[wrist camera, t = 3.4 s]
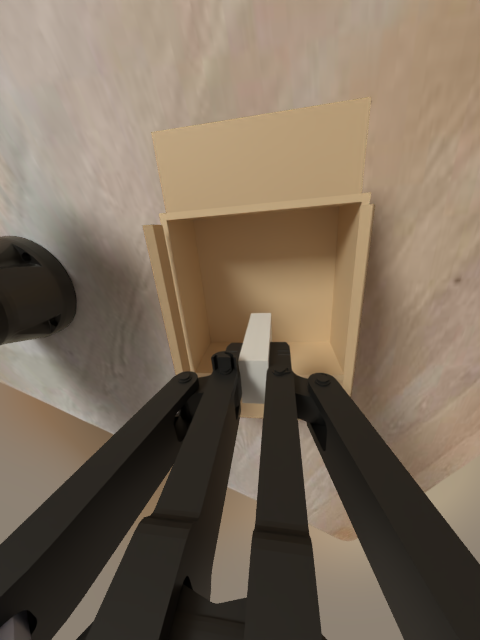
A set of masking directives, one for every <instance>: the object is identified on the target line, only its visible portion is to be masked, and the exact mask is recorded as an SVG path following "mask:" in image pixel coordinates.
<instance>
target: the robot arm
mask: <svg viewBox="0 0 480 640" xmlns="http://www.w3.org/2000/svg"><path fill="white" fill-rule="evenodd" d="M75 311H76V296H75V291H74V288H73V285H72V283H71V280H70V278H69V276H68V274H67V273H66V271H65V270H64V268H63V267H62V266H61V264H60V263H59V262H58V261H57V260H56V258H55V257H54V256H53V255H51V254H50V253H49V252H48V251H47V250H46V249H44V248H43V247H41V246H40V245H38V244H36V243H35V242H33V241H30V240H28V239H25V238H22V237H17V236H3V237H0V345H2V344H7V343H13V342H19V341H25V340H31V339H37V338H43V337H47V336H50V335H52V334H54V333H56V332H58V331H60V330H62V329H64V328H65V327H67V326H68V325H69V324H70V323H71V321H72V319H73V317H74V315H75ZM211 361H212V368H213V372H212V374H211V375H209V376H205V377H199V378H198V375H197V374H196V373H195V372H192V371H185V372H181V373H179V374H177V375H176V376H174V377H173V378H172V379H171V380H170V381H169V382H168V383H167V384H166V385H165V386H164V387H163V388H162V389H161V390H160V391H159V392H158V393H157V394H156V395H155V396H154V397H153V398H152V399H151V400H150V401H149V402H147V403H146V404H145V405H144V406H143V407H142V408H141V409H140V410H139V411H138V412H137V413H136V414H135V415H134V416H133V417H132V418H131V419H130V420H129V421H128V422H127V423H126V424H125V425H124V426H123V427H122V428H121V429H120V430H118V431H117V432H116V433H115V434H114V435H113V436H112V437H111V438H110V439H109V440H108V441H107V442H106V443H105V444H104V445H103V446H102V447H101V448H100V449H99V450H98V451H97V452H96V453H95V454H94V455H93V456H92V457H91V458H90V459H89V460H87V461H86V462H85V463H84V464H83V465H82V466H81V467H80V468H79V469H78V470H77V471H76V472H75V473H74V474H73V475H72V476H71V477H70V478H69V479H68V480H67V481H66V482H65V483H64V484H63V485H62V486H61V487H59V489H57V490H56V491H55V492H54V493H53V494H52V495H51V496H50V497H49V498H48V499H47V500H46V501H45V502H44V503H43V504H42V505H41V506H40V507H39V508H38V509H37V510H36V511H35V512H34V513H33V514H32V515H31V516H30V517H28V518H27V519H26V521H24V522H23V523H22V524H21V525H20V526H19V527H18V528H17V529H16V530H15V531H14V532H13V533H12V534H11V535H10V536H9V537H8V538H7V539H6V540H5V541H4V542H3V543H2V544H0V640H51V639H52V638H53V636H54V635H55V634H56V633H57V632H58V630H59V629H60V628H61V627H62V625H63V624H64V623H65V622H66V621H67V619H68V618H69V617H70V615H71V614H72V612H73V611H74V610H75V608H76V607H77V605H78V604H79V603H80V601H81V600H82V598H83V597H84V596H85V594H86V593H87V591H88V590H89V588H90V587H91V585H92V584H93V582H94V581H95V580H96V578H97V576H98V575H99V574H100V572H101V571H102V569H103V568H104V566H105V565H106V563H107V562H108V560H109V559H110V557H111V556H112V554H113V553H114V551H115V550H116V549H117V547H118V545H119V544H120V543H121V541H122V540H123V538H124V536H125V535H126V534H127V532H128V531H129V529H130V528H131V526H132V525H133V523H134V521H135V520H136V519H137V517H138V516H139V515H140V513H141V512H142V510H143V509H144V507H145V506H146V504H147V503H148V501H149V500H150V498H151V497H152V495H153V494H154V492H155V491H156V489H157V488H158V486H159V485H160V484H161V482H162V481H163V479H164V478H165V476H166V475H167V473H168V472H169V470H170V468H171V467H172V466H173V467H172V469H171V472H170V474H169V477H168V479H167V481H166V484H165V486H164V488H163V491H162V494H161V496H160V498H159V500H158V503H157V505H156V508H155V510H154V512H153V513H152V514H151V515H150V516H148V517H144V519H142V520H141V522H140V523H139V524H138V526H137V528H136V530H135V532H134V534H133V536H132V538H131V540H130V543H129V545H128V547H127V549H126V551H125V554H124V556H123V558H122V560H121V562H120V565H119V567H118V569H117V571H116V573H115V576H114V578H113V580H112V582H111V584H110V587H109V589H108V591H107V593H106V595H105V598H104V600H103V602H102V604H101V607H100V609H99V611H98V613H97V615H96V617H95V620H94V621H93V622H92V624H91V625H90V626H89V627H88V628H87V629H86V630H85V631H84V632H83V633H82V634H81V635H80V636H79V637H78V638H77V639H76V640H327V639H326V638H325V637H324V636H323V635H322V634H321V624H320V616H319V605H318V596H317V586H316V577H315V567H314V558H313V549H312V543H311V538H310V536H309V529H308V520H307V509H306V499H305V489H304V479H303V469H302V459H301V448H300V438H299V428H298V419H301V420H304V421H306V422H307V426H308V428H309V430H310V432H311V435H312V437H313V439H314V441H315V444H316V446H317V448H318V450H319V452H320V455H321V457H322V459H323V461H324V463H325V466H326V468H327V470H328V472H329V475H330V477H331V479H332V481H333V483H334V486H335V488H336V490H337V492H338V494H339V497H340V499H341V501H342V503H343V505H344V508H345V510H346V512H347V514H348V517H349V519H350V521H351V523H352V525H353V528H354V530H355V532H356V534H357V536H358V539H359V541H360V543H361V545H362V547H363V550H364V552H365V554H366V556H367V558H368V561H369V563H370V565H371V567H372V569H373V572H374V574H375V576H376V578H377V581H378V583H379V585H380V587H381V589H382V592H383V594H384V596H385V598H386V601H387V603H388V605H389V607H390V609H391V612H392V614H393V616H394V618H395V620H396V623H397V625H398V627H399V629H400V631H401V634H402V636H403V638H404V640H480V564H479V563H478V562H477V560H476V559H475V558H474V557H473V555H472V554H471V553H470V551H469V550H468V549H467V547H466V546H465V545H464V544H463V542H462V541H461V540H460V539H459V537H458V536H457V535H456V533H455V532H454V531H453V529H452V528H451V527H450V525H449V524H448V523H447V522H446V520H445V519H444V518H443V516H442V515H441V514H440V513H439V511H438V510H437V509H436V507H434V505H433V504H432V502H431V501H430V500H429V499H428V497H427V496H426V494H425V493H424V492H423V491H422V489H421V488H420V487H419V485H418V484H417V483H416V482H415V480H414V479H413V478H412V476H411V475H410V474H409V473H408V471H407V470H406V469H405V467H404V466H403V465H402V463H401V462H400V461H399V460H398V458H397V457H396V456H395V454H394V453H393V452H392V451H391V449H390V448H389V447H388V445H387V444H386V443H385V442H384V440H383V439H382V438H381V436H380V435H379V434H378V432H377V431H376V430H375V429H374V427H373V426H372V425H371V423H370V422H369V421H368V420H367V418H366V417H365V416H364V414H363V413H362V412H361V410H360V409H359V408H358V407H357V405H356V404H355V403H354V401H353V400H352V399H351V398H350V396H349V395H348V394H347V392H346V391H345V390H344V389H343V387H342V386H341V385H340V383H339V382H338V381H337V379H335V378H334V377H333V376H331V375H329V374H326V373H314V374H312V375H310V376H309V378H303V377H300V376H298V375H296V374H295V373H294V372H293V371H292V366H291V355H290V346H289V345H288V344H287V343H286V342H272V324H271V313H251V316H250V320H249V323H248V327H247V330H246V334H245V338H244V341H243V343H231V344H229V345H228V346H227V348H226V351H221V352H217V353H215V354H214V355H212V357H211ZM241 398H242V403H255V404H264V414H263V428H262V441H261V455H260V468H259V482H258V495H257V509H256V523H255V529H254V531H253V536H252V544H251V555H250V568H249V580H248V592H247V598H243V599H238V600H233V601H229V602H224V603H219V604H215V603H212V602H210V594H211V574H212V566H213V560H214V554H215V549H216V544H217V538H218V533H219V527H220V523H221V517H222V512H223V506H224V501H225V495H226V490H227V485H228V479H229V474H230V468H231V463H232V457H233V452H234V447H235V441H236V436H237V430H238V425H239V419H240V414H241ZM178 411H179V412H178ZM173 464H174V465H173Z"/></svg>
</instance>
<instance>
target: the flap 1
mask: <svg viewBox="0 0 480 640" xmlns="http://www.w3.org/2000/svg"><path fill="white" fill-rule="evenodd" d="M143 230H144V235H145V239H146V244H147V248H148V253H149V257H150V262H151V266H152V271H153V275H154V280H155V284H156V289H157V293H158V297H159V302H160V306H161V311H162V315H163V320H164V324H165V329H166V333H167V338H168V342H169V347H170V351H171V356H172V360H173V365H174V369H175V374H176V375H177V374H179V373H181V372H185V371H191V370H190V364H189V359H188V354H187V349H186V344H185V339H184V333H183V328H182V323H181V318H180V313H179V307H178V302H177V297H176V292H175V287H174V282H173V276H172V271H171V266H170V261H169V256H168V250H167V245H166V240H165V235H164V230H163V225H143Z"/></svg>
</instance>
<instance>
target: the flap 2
mask: <svg viewBox="0 0 480 640" xmlns="http://www.w3.org/2000/svg"><path fill="white" fill-rule="evenodd" d="M374 210H375V205H374V204H368V205H361V207H360V217H359V227H358V237H357V247H356V256H355V266H354V276H353V286H352V296H351V306H350V315H349V325H348V335H347V345H346V355H345V365H344V374H343V384H342V387H343V389H344V390H345V391H346V392H347V394H348V395H349V396H350V398H351V394H352V387H353V380H354V373H355V365H356V357H357V348H358V340H359V332H360V324H361V316H362V308H363V300H364V291H365V283H366V275H367V267H368V259H369V251H370V243H371V234H372V226H373V218H374Z"/></svg>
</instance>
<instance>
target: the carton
mask: <svg viewBox="0 0 480 640" xmlns="http://www.w3.org/2000/svg"><path fill="white" fill-rule="evenodd" d="M370 105H371V97H366V98H360V99H354V100H348V101H341V102H335V103H329V104H323V105H317V106H311V107H304V108H298V109H292V110H286V111H280V112H273V113H267V114H261V115H255V116H249V117H242V118H236V119H230V120H224V121H218V122H212V123H205V124H199V125H193V126H187V127H181V128H174V129H168V130H162V131H156V132H151V134H152V139H153V144H154V150H155V155H156V161H157V166H158V172H159V177H160V182H161V188H162V193H163V199H164V204H165V210H166V213H162V214H159V217H160V222H161V225H163V230H164V235H165V240H166V245H167V250H168V256H169V261H170V266H171V271H172V276H173V282H174V287H175V292H176V297H177V302H178V307H179V313H180V318H181V323H182V328H183V333H184V339H185V344H186V349H187V354H188V359H189V364H190V370H191V371H192V372H195V373H196V374H197V375H198V378H199V377H205V376H209V375H211V374H212V372H213V368H212V361H211V357H212V355H214V354H215V353H217V352H221V351H226V348H227V346H228V345H229V344H231V343H243V341H244V338H245V334H246V330H247V327H248V323H249V320H250V316H251V313H271V324H272V342H286V343H287V344H288V345H289V346H290V355H291V366H292V371H293V372H294V373H295V374H296V375H298V376H300V377H303V378H309V376H310V375H312V374H314V373H326V374H329V375H331V376H333V377H334V378H335V379H337V381H338V382H339V383H340V385H341V386H342V382H343V374H344V365H345V355H346V345H347V335H348V325H349V315H350V306H351V296H352V286H353V276H354V266H355V256H356V247H357V237H358V227H359V217H360V207H361V205H368V204H370V197H371V192H370V193H362V184H363V174H364V164H365V155H366V145H367V135H368V125H369V115H370ZM263 414H264V404H255V403H242V398H241V414H240V417H247V418H263ZM298 420H301V419H298Z"/></svg>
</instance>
